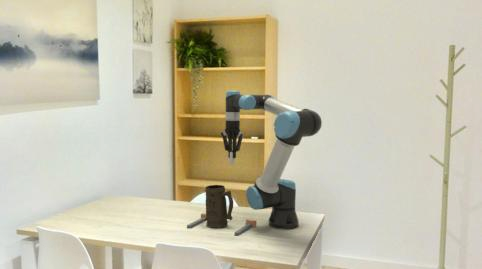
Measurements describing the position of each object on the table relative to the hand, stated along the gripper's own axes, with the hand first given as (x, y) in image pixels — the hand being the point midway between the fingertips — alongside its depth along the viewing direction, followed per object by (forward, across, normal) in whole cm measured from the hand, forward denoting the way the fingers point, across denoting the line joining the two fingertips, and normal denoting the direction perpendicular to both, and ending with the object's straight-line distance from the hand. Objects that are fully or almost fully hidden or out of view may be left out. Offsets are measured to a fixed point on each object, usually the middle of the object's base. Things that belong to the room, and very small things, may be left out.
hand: (232, 164), depth 237 cm
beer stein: (+29, -2, +18) cm, 34 cm away
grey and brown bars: (+29, -3, +20) cm, 35 cm away
